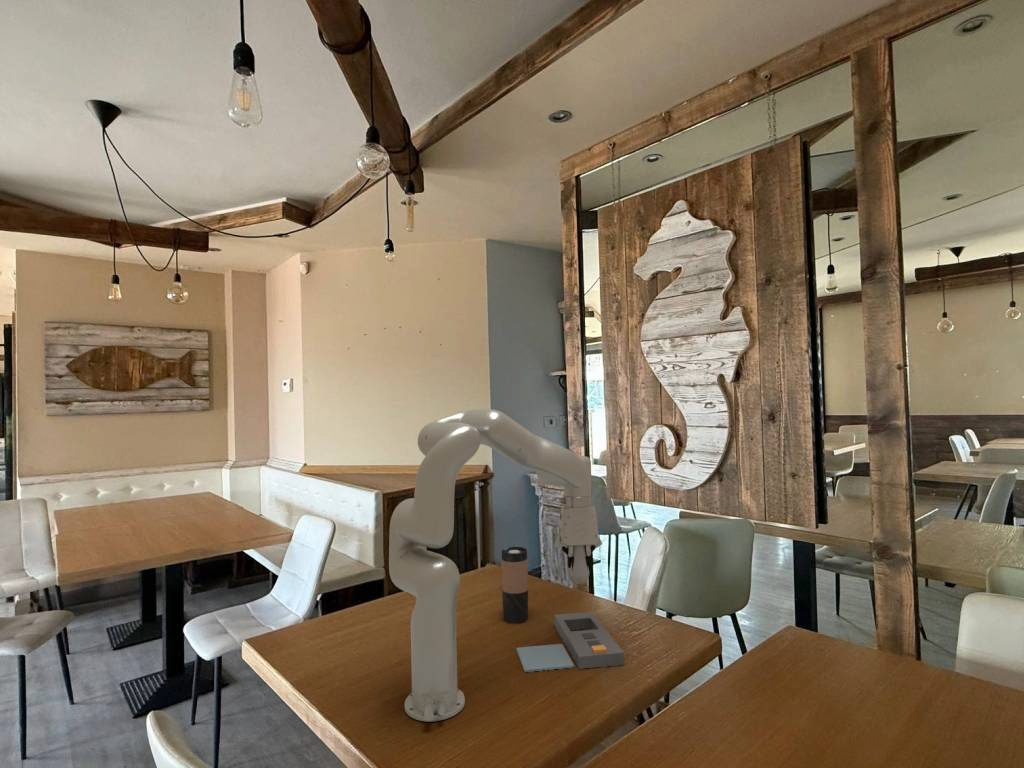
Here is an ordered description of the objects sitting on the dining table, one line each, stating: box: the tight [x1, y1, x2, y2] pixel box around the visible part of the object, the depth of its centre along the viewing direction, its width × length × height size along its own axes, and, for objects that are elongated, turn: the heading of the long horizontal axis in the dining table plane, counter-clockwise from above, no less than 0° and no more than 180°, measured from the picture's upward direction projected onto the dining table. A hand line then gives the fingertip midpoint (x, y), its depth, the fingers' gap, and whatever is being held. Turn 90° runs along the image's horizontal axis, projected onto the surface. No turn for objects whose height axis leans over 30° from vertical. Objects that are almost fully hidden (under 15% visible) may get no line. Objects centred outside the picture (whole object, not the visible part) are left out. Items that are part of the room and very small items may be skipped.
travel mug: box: [501, 546, 529, 625], centre depth 163 cm, size 8×8×20 cm
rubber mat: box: [515, 643, 575, 673], centre depth 137 cm, size 12×12×1 cm
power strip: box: [553, 611, 625, 670], centre depth 145 cm, size 26×11×4 cm, turn 9°
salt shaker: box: [567, 546, 590, 585], centre depth 150 cm, size 6×6×13 cm
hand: (578, 569), depth 150 cm, fingers closed on salt shaker, 3 cm apart
